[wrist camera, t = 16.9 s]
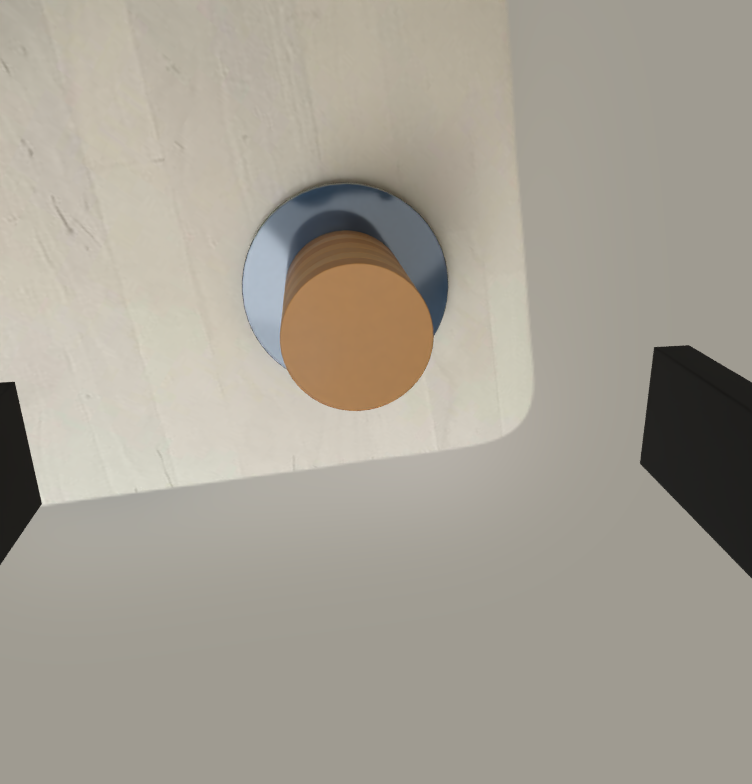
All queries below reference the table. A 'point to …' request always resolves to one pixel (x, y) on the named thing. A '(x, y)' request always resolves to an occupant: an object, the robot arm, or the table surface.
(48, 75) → the table surface
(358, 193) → the plate
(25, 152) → the table surface
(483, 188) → the table surface
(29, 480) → the robot arm
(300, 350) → the cookies
